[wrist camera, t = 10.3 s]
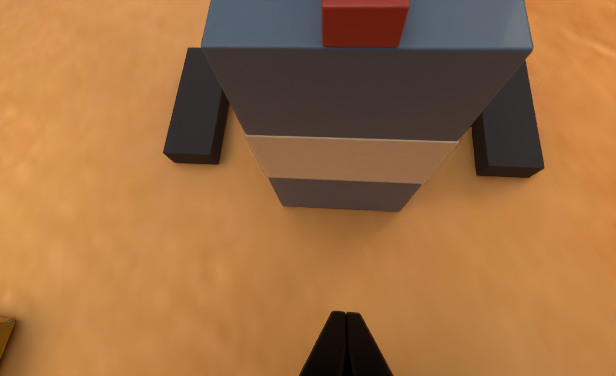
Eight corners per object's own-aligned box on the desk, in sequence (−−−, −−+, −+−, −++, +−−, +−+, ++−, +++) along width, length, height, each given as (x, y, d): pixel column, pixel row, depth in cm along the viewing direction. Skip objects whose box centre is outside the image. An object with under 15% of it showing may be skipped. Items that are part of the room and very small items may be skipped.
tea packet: (400, 212, 19) (575, 8, 5) (281, 206, 19) (175, 9, 6) (395, 25, 23) (484, -336, 10) (299, 25, 24) (261, -317, 10)
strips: (529, 177, 19) (545, 168, 17) (174, 162, 21) (162, 152, 19) (511, 67, 21) (524, 50, 20) (196, 62, 23) (187, 47, 22)
